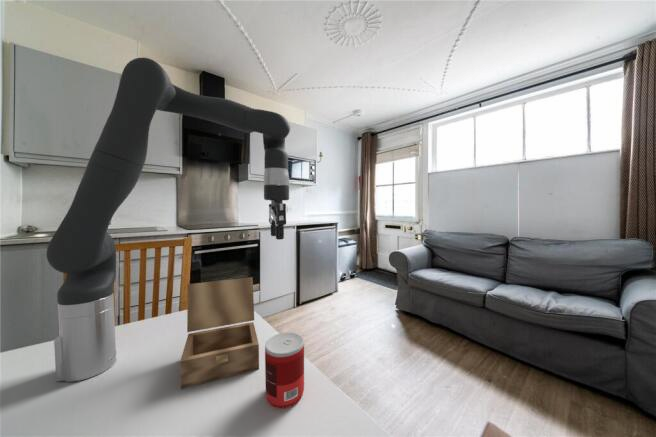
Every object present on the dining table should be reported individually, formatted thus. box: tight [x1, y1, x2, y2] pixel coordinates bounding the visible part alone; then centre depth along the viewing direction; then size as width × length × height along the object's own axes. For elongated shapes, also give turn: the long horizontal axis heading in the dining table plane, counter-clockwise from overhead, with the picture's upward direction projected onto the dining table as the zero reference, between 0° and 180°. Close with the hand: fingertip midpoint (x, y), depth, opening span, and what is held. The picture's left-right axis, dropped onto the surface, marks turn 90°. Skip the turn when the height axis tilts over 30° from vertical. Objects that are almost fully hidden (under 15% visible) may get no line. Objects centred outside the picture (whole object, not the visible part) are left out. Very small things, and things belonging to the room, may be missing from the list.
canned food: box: [264, 332, 305, 409], centre depth 49 cm, size 8×8×11 cm
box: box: [179, 321, 260, 390], centre depth 59 cm, size 16×12×6 cm
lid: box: [186, 276, 255, 333], centre depth 66 cm, size 17×12×1 cm
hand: (277, 237), depth 73 cm, fingers open, 8 cm apart
